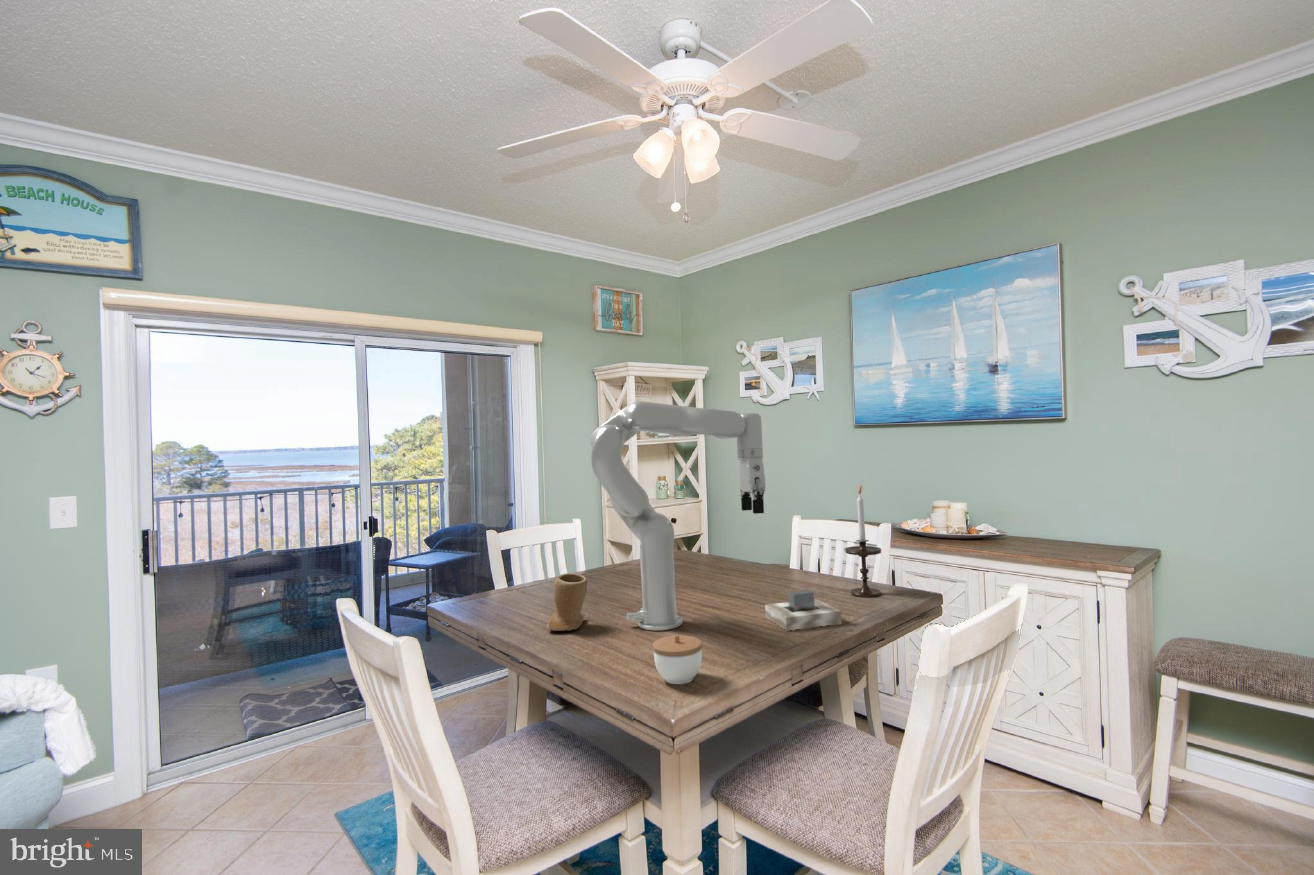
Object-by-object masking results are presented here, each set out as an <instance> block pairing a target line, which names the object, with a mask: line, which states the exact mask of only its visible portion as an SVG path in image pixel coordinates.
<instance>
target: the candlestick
mask: <svg viewBox="0 0 1314 875" xmlns="http://www.w3.org/2000/svg"><path fill="white" fill-rule="evenodd" d="M862 486H863V485H862V484H861V485H860V487H859V490H858V497H857V498H856V505H857V506H856V507H857V520H858V521H857V522H858V523H857V524H858V536H859V537H858V539H857V540H855V541H856V542H858V545H856V546H855V545H854V546H847V547H845V549H844V550H845V553H846V554H847V555H848V554H849V555H853V556H858V558H861V559H860V560H861V567H860V568H859V572H860V574H861V577H860V579H861V580H862V585H861V587H856V588H852V589H851V590H850V595H851V596H853V597H857V598H858V597H859V598H866V599H867V598H878V597H880V596H881V594H882V592H881V590H880V589H877V588H873V587H869V585H868V580H869V579H870V578H869V577H868V573H869V572H870V570H869V569H868V568H867V557H869V556H875V555H879V554H881V553H882V549H881V547H878V546H871V545H867V542H870V540H868V539H866V528H865V527H866V525H865V523H866V522H865V511H864V510H865V509H864V508H865V507H864V499H863V498H862V495H861V494H862V488H863V487H862Z"/></svg>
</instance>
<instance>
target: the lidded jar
mask: <svg viewBox="0 0 1314 875" xmlns="http://www.w3.org/2000/svg"><path fill="white" fill-rule="evenodd" d="M652 643H653V644H652V652H653V659H654V660H653V662H654V665H655V668H656V670H657V672H658V674H659V675H660V676H661V677H662V678H663V679H664V681H665V682H666V683H668V684H671V685H686V684H689V683H690V682H692V681H693V680H694V678H695V677H696V676H697V674H698V673H699V671H700V669H701V665H702V659H703V650H702V648H703V643H702V640H701V639H700V638H697V637H695V636H691V635H685V634H684V635H679V634H674V635H670V636H669V635H668V636H664V637H660V638H659V639H656V640H655V641H654V642H652Z"/></svg>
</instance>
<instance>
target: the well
mask: <svg viewBox="0 0 1314 875" xmlns="http://www.w3.org/2000/svg"><path fill="white" fill-rule="evenodd" d="M814 605H815V610H808V611H799V612H791V611H789V601H785V602H778V603H770V604H764V610H765V618H766V619H768V620H769V621H771V622H773V624H775V623H776V624H775V625H777V626H778V625H779V626H778V627H780V628H781V627H782V630H784V629H785V630H784V631H785V632H790V630H792V631H796V630H795V629H800V630H804V628H807V629H811V628H810V627H815V628H820V627H819V626H823V627H827V626H826V625H830V626H836V625H837V626H838V625H842V611H841V610H839V609H837V608H835V607H833V606H832V605H829V604H827V603H825V602H823V601H821V600H819V599H817V598H814Z"/></svg>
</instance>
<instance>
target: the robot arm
mask: <svg viewBox="0 0 1314 875" xmlns="http://www.w3.org/2000/svg"><path fill="white" fill-rule="evenodd" d="M762 424H763V422H762V416H761V415H760V414H759V413H755V412H753V413H752V412H750V413H749V412H748V413H738V412H736V411H731V410H722V409H717V408H716V409H714V408H706V407H705V408H704V407H703V408H702V407H695V406H683V405H675V404H667V403H660V402H659V403H658V402H650V401H638V400H637V401H634V402H632V403H630V404H628V405H626V406H625V407H623V408H622V409H621V410H620V411H619V412H617V413H616V414H615V415H613V416H612V417H610V418H609V419H608V420H606V421H605V422H604V423H602V424H601V425H599V426H598V427H597V428H596V429H595V430H594V431H593V432H592V434H591V435H590V445H591V452H590V453H591V454H590V458H591V460H590V462H591V467H592V471H593V473H594V476H595V477H596V479H597V480H598V482H599V483H600V484H601V486H602V487H603V489H604V490H605V492H606V493H607V495H609V498H610V504H611V507H612V508H613V510H614V511H615V512H616V514H617V515H618V516H619V518H620V519H621V520H622V521H623V523H624V524H625V525H626V527H627V528H628V530H630V531H631V533H632V534H633V535H634V537H635V538H637V539H638V540H639V541H640V555H639V556H640V564H639V565H640V577H641V578H640V580H641V595H642V598H641V599H642V607H640V610H637V611H636V612H627V613H626V620H627V621H633V622H637V621H638V622H637V624H638V627H639V628H641V629H643V630H647V631H668V630H672V629H676V628H678V627H680V626H681V625H683V618H682V617H681V616H679V615H678V613H677V599H676V597H677V596H676V595H677V594H676V581H675V580H676V578H675V577H676V576H675V562H674V557H675V556H674V548H675V546H674V545H675V530H674V525H673V523H672V521H671V520H670V519H669V518H668V516H666V515H664V514H662V513H659V512H657V511H656V510H655V509H654V507H652V505H651V503H650V501H649V500H650V499H649V496H648V494H647V492H646V490H645V489H644V488H643V487H642V486H641V484H640V483H639V482H638V481H637V480H636V479H635V477H634V476H633V474H632V473H631V472H630V471H629V469H628V468H627V467H626V465H625V463H624V462H623V458H622V451H623V447H624V445H625V443H627V441H630V440H631V439H632V438H633V437H634V436H636V435H637V434H638V433H639V432H640V431H641V432H646V433H647V432H648V433H649V432H650V433H658V434H664V435H665V434H666V435H674V436H675V435H676V436H692V435H693V436H694V435H700V436H701V435H703V436H704V435H705V436H713V437H715V438H717V439H720V440H721V439H723V440H725V439H726V440H727V439H734V438H735V439H736V447H737V451H736V453H737V460H739V489H740V490H739V491H740V503H741V511H752V513H753V514H755V515H756V514H764V513H765V507H764V506H765V504H764V503H765V502H764V499H765V496H764V495H765V491H766V490H767V486H766V477H765V474H766V473H765V468H764V461H763V459H764V452H763V450H764V449H763V447H764V446H763V429H762V426H763V425H762ZM752 498H753V499H752Z"/></svg>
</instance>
